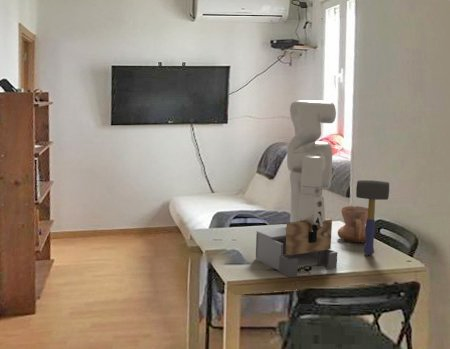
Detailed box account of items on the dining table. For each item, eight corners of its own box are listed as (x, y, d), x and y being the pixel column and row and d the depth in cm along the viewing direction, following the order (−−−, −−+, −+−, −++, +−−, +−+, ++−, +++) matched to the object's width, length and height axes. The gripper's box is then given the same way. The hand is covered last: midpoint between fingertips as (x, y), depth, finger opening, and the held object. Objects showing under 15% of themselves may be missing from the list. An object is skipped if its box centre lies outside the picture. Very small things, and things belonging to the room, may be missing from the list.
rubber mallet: (384, 254, 226) (389, 180, 221) (384, 259, 219) (390, 183, 214) (352, 251, 229) (357, 178, 224) (352, 256, 222) (356, 180, 217)
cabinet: (299, 252, 225) (300, 225, 224) (336, 268, 206) (338, 238, 205) (253, 259, 215) (254, 231, 213) (288, 276, 196) (289, 246, 194)
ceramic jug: (335, 234, 255) (337, 203, 252) (368, 235, 253) (370, 204, 251) (339, 246, 237) (340, 213, 235) (374, 247, 236) (376, 214, 233)
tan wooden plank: (325, 246, 208) (326, 217, 207) (332, 249, 205) (334, 220, 203) (285, 253, 199) (286, 222, 198) (292, 256, 196) (293, 225, 194)
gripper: (335, 193, 194) (332, 245, 197) (305, 186, 208) (303, 234, 211) (317, 195, 190) (315, 248, 193) (289, 187, 204) (287, 236, 207)
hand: (309, 240), depth 202 cm, fingers closed on tan wooden plank, 3 cm apart
